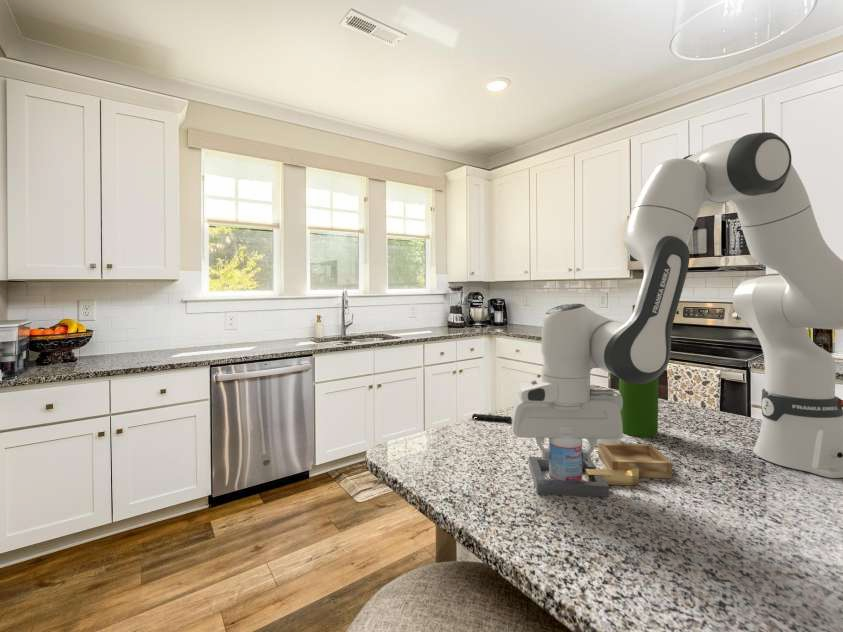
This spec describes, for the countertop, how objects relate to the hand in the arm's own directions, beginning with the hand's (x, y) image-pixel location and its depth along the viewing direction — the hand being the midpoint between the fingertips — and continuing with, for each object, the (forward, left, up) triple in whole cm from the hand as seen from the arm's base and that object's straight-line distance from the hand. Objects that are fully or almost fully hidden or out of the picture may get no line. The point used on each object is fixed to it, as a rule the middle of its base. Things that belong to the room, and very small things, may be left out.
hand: (565, 459), depth 82 cm
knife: (+6, -36, -5) cm, 37 cm away
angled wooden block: (-9, 0, -4) cm, 9 cm away
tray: (-15, -7, -4) cm, 17 cm away
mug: (-12, -21, -4) cm, 25 cm away
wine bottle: (-24, -30, -4) cm, 39 cm away
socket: (0, 0, -4) cm, 4 cm away
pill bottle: (0, 0, -4) cm, 4 cm away
